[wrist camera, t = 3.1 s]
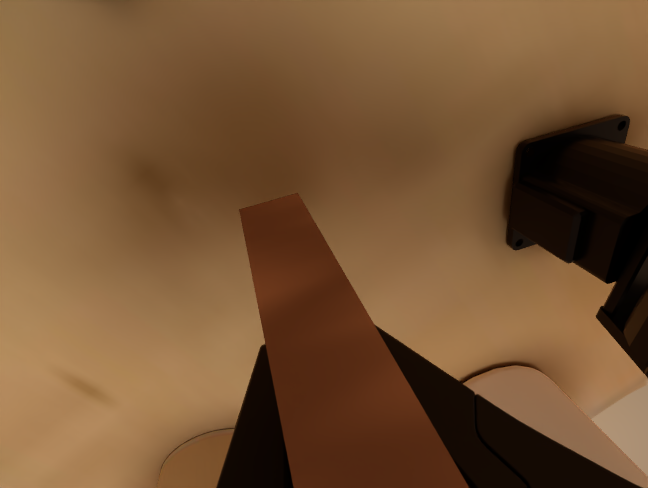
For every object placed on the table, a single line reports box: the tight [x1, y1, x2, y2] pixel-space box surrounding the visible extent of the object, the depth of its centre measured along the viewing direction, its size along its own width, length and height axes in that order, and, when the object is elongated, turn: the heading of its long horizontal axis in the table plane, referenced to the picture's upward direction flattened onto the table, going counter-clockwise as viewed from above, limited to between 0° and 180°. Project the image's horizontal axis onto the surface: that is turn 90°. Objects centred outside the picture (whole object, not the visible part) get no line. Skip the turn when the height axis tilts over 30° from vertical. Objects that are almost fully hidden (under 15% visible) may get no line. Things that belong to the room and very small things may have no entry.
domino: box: [239, 193, 469, 488], centre depth 8 cm, size 2×5×8 cm, turn 11°
